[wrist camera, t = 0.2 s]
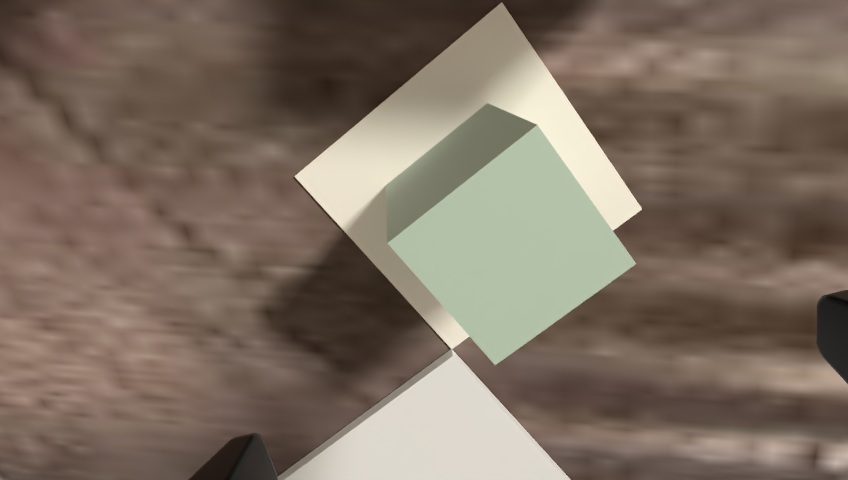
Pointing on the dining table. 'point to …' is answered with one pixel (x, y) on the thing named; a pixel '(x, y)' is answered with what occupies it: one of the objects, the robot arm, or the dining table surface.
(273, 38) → the dining table surface
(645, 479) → the dining table surface
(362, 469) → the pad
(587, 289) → the sage block
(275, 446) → the dining table surface
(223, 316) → the dining table surface
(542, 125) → the tile
